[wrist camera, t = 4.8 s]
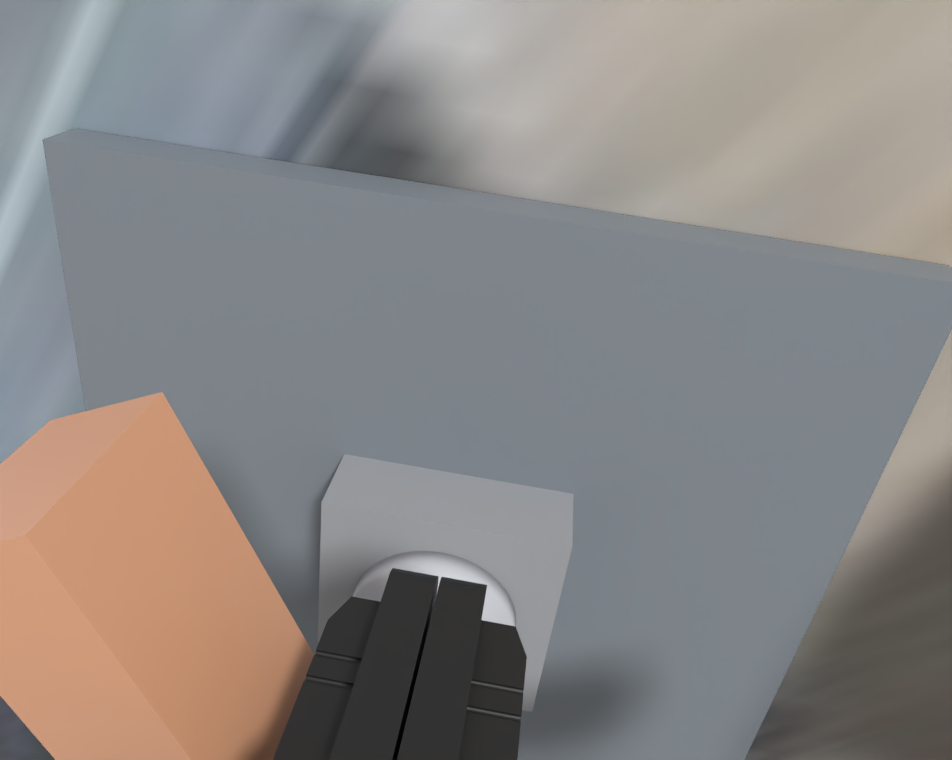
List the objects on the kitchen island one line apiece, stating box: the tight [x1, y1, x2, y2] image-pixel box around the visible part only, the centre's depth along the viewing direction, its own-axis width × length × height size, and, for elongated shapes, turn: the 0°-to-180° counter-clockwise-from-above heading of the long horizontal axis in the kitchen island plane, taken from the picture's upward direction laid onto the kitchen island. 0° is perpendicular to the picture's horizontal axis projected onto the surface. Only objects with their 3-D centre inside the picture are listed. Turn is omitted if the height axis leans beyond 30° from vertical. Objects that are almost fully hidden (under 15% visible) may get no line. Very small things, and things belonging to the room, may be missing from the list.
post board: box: [43, 129, 952, 760], centre depth 19 cm, size 20×20×9 cm
